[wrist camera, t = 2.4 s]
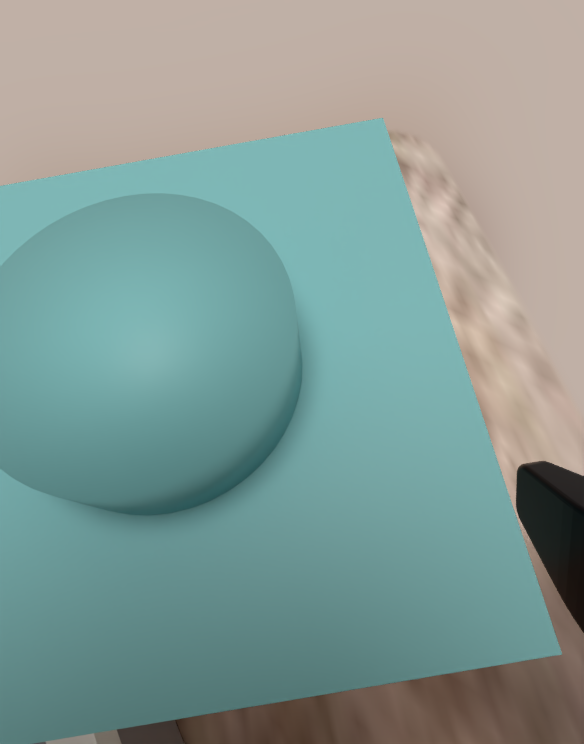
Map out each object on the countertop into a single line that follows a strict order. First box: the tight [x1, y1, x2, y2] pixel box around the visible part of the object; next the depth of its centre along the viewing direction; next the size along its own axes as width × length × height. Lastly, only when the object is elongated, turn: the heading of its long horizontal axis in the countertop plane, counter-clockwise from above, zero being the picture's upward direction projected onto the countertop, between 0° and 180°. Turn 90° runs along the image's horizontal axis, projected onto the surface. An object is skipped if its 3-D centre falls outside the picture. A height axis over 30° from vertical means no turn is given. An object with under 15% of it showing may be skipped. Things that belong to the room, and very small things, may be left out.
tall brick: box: [0, 118, 562, 744], centre depth 10 cm, size 5×5×14 cm
